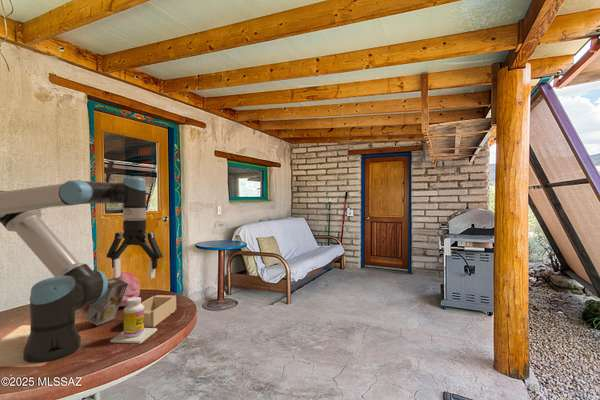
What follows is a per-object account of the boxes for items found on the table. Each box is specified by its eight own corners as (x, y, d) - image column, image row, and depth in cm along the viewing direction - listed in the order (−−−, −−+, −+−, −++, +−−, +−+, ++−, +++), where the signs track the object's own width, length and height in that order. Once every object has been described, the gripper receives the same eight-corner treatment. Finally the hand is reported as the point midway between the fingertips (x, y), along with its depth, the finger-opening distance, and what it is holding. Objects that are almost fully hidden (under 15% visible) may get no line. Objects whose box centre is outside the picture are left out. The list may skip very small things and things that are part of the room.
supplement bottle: (136, 338, 113) (136, 302, 113) (119, 337, 114) (119, 301, 114) (147, 330, 120) (147, 296, 120) (131, 329, 120) (131, 295, 120)
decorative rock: (101, 290, 156) (101, 268, 149) (133, 282, 165) (134, 261, 158) (111, 320, 145) (111, 298, 138) (144, 310, 154) (146, 288, 147)
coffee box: (102, 312, 135) (116, 277, 135) (114, 319, 133) (128, 283, 133) (84, 318, 126) (99, 281, 126) (96, 326, 124) (112, 287, 124)
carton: (123, 328, 124) (123, 312, 124) (155, 308, 147) (155, 295, 147) (150, 329, 123) (150, 313, 123) (178, 308, 146) (178, 295, 146)
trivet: (110, 342, 112) (110, 340, 112) (129, 329, 123) (129, 327, 123) (140, 343, 111) (140, 341, 111) (157, 330, 122) (157, 328, 122)
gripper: (95, 219, 115) (95, 278, 115) (161, 220, 112) (161, 280, 112) (109, 218, 122) (109, 274, 122) (172, 219, 120) (172, 275, 120)
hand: (134, 277), depth 117 cm, fingers open, 13 cm apart
